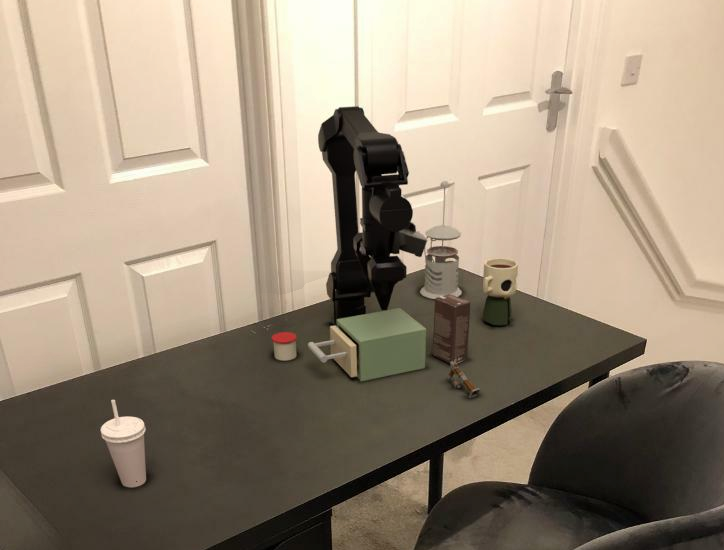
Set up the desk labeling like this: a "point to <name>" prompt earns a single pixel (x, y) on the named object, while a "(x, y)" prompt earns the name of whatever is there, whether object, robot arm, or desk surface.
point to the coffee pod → (284, 346)
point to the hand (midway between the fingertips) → (379, 300)
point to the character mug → (499, 289)
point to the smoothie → (126, 447)
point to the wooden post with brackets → (462, 378)
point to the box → (451, 328)
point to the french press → (441, 261)
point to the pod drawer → (339, 350)
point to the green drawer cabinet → (386, 343)
